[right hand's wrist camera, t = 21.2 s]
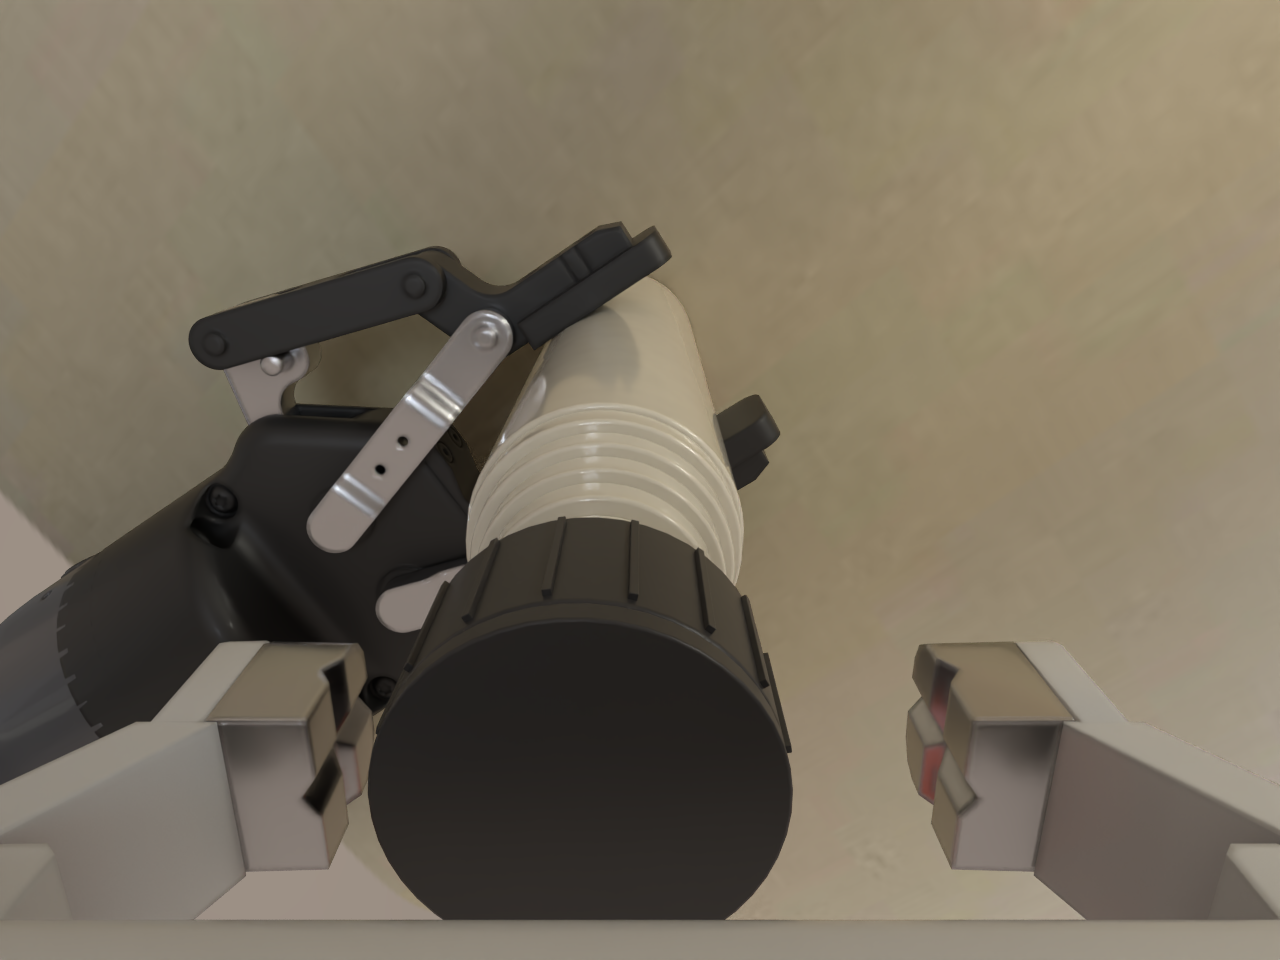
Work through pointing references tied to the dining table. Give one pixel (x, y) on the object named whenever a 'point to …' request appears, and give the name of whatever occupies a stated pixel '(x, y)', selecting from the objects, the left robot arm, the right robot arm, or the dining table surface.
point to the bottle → (615, 435)
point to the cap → (584, 735)
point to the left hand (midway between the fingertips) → (713, 331)
